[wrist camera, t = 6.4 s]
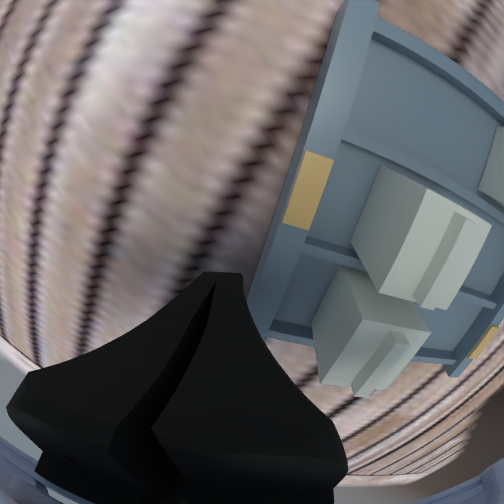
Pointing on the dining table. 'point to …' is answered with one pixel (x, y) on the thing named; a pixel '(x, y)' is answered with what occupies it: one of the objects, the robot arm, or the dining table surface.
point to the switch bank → (365, 170)
